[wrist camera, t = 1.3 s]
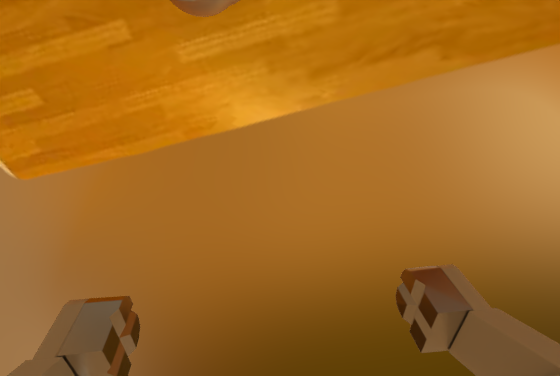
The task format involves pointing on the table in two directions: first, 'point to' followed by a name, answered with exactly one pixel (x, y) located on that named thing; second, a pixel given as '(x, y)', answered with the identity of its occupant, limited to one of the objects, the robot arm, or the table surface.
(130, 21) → the table surface
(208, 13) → the plastic bottle
